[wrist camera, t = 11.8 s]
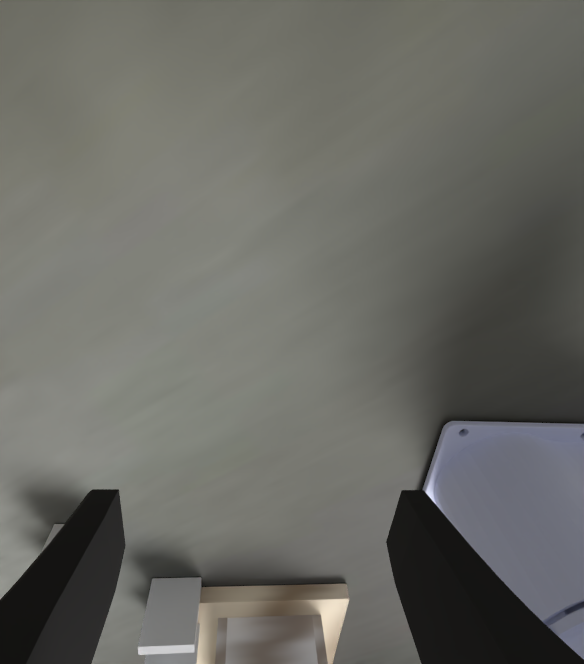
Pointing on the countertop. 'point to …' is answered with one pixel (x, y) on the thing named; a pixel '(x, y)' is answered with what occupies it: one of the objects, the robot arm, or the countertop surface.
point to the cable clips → (167, 619)
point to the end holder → (271, 624)
